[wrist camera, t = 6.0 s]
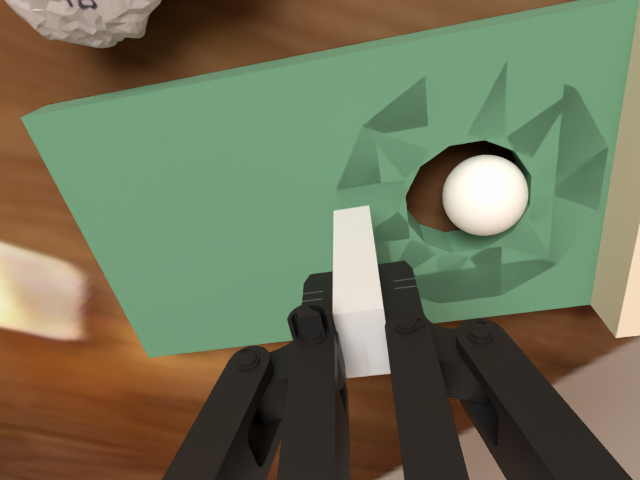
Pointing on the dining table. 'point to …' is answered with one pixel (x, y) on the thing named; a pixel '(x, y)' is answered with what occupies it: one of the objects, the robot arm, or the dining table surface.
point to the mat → (363, 175)
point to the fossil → (86, 19)
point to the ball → (485, 195)
